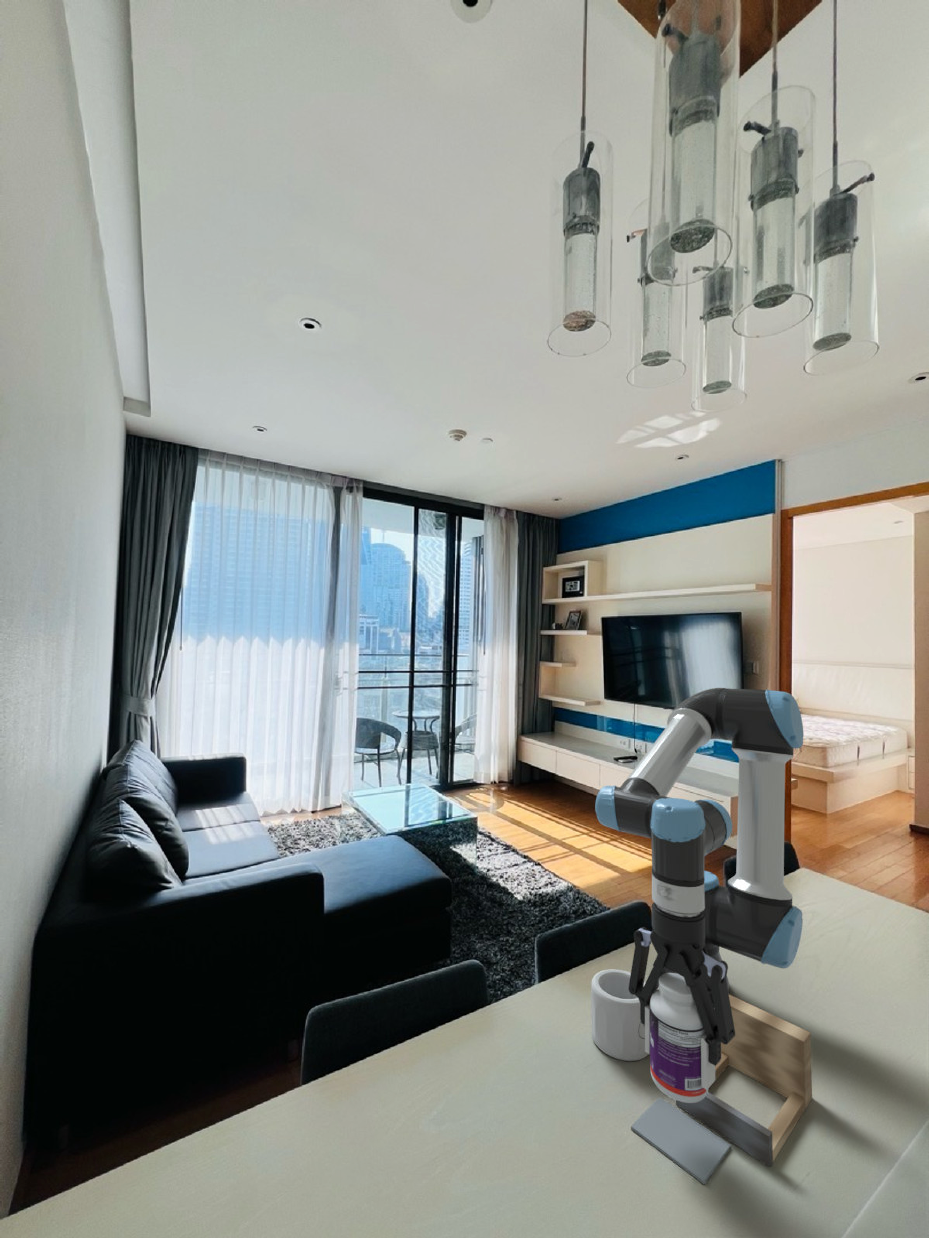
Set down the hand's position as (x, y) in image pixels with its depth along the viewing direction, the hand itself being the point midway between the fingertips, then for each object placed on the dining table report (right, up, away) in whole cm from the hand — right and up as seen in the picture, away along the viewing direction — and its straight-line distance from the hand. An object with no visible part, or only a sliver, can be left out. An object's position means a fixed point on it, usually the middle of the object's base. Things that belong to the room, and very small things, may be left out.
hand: (678, 1065), depth 79 cm
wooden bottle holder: (+12, -11, +6) cm, 17 cm away
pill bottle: (0, -3, 0) cm, 3 cm away
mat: (0, -10, -1) cm, 10 cm away
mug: (-2, -12, +20) cm, 24 cm away
